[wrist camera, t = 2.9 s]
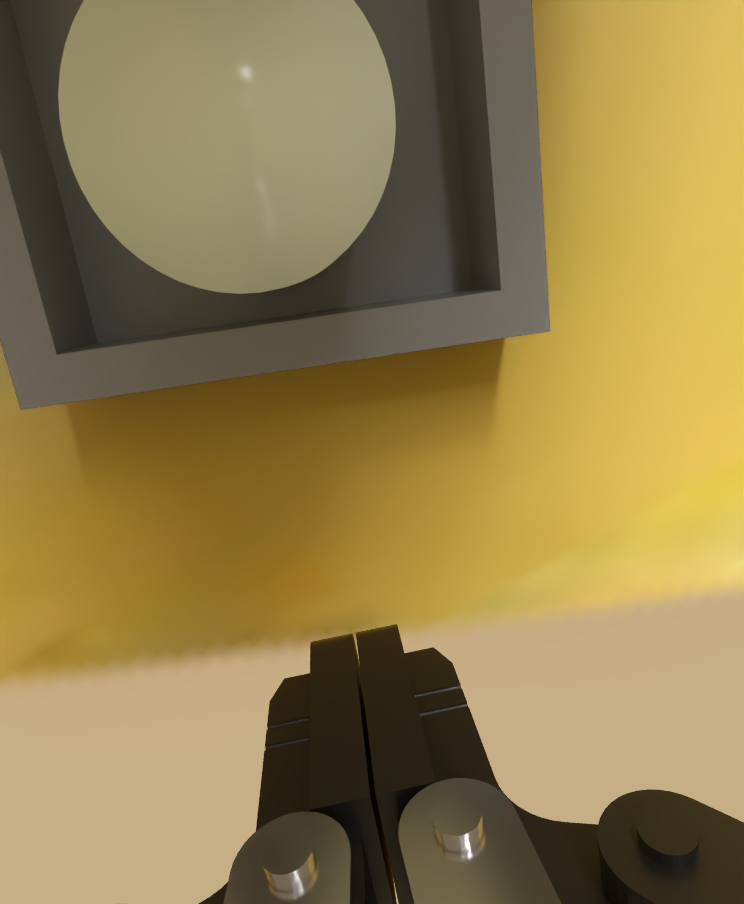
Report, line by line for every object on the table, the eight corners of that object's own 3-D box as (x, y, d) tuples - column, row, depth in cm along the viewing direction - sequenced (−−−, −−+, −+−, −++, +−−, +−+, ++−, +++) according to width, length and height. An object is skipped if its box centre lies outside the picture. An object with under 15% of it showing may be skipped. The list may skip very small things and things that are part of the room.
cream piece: (147, 90, 11) (17, -56, 6) (349, 68, 11) (374, -92, 6) (188, 298, 12) (103, 313, 7) (373, 275, 12) (411, 272, 7)
